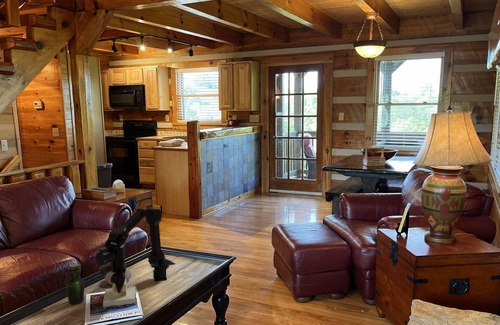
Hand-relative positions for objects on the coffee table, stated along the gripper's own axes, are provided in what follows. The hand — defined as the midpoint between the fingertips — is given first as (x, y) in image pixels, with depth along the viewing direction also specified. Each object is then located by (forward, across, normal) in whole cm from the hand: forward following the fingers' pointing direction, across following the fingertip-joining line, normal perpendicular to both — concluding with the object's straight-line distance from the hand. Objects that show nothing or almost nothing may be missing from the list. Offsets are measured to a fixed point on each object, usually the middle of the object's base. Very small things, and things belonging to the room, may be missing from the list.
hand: (119, 288), depth 187 cm
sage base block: (+6, 0, 0) cm, 6 cm away
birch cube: (+2, 0, 0) cm, 2 cm away
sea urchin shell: (+6, -23, -2) cm, 24 cm away
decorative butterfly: (+6, -40, +23) cm, 46 cm away
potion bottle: (+6, -4, -20) cm, 21 cm away
